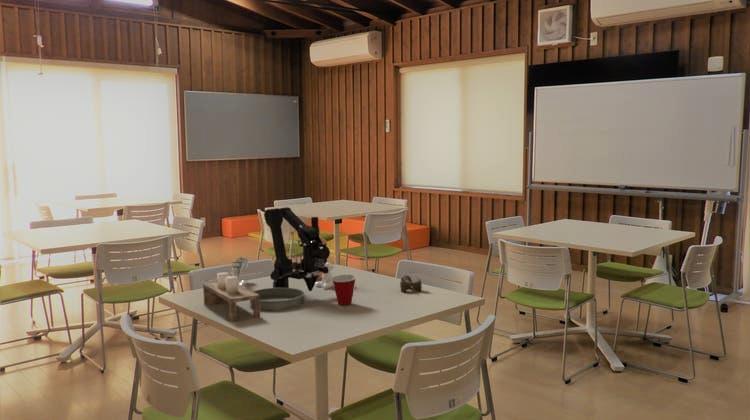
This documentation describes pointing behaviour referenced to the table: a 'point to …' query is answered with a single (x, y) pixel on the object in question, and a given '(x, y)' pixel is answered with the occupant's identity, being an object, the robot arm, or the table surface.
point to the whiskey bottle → (322, 261)
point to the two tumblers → (227, 282)
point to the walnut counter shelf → (231, 298)
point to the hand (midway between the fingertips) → (310, 291)
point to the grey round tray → (278, 298)
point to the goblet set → (239, 269)
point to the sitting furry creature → (326, 278)
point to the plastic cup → (344, 288)
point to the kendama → (410, 284)
